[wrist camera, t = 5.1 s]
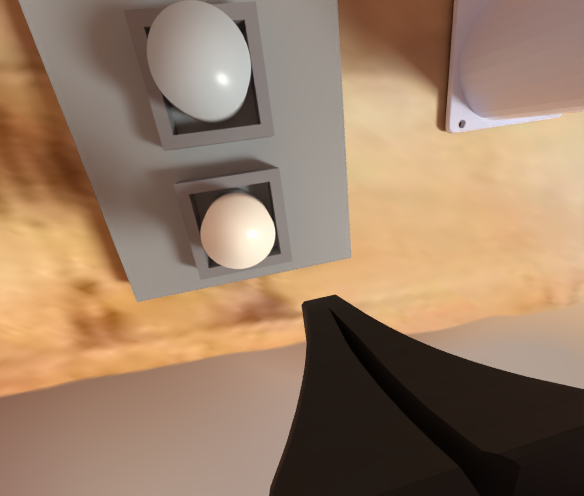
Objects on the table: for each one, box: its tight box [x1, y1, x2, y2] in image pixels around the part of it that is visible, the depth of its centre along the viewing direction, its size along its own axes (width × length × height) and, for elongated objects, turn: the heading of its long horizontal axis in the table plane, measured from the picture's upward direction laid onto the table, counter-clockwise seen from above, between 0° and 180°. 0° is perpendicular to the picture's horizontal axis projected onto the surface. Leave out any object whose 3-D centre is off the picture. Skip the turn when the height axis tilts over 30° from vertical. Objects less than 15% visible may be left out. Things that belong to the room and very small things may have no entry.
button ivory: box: [200, 190, 275, 269], centre depth 15 cm, size 4×4×3 cm
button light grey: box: [147, 0, 251, 124], centre depth 11 cm, size 4×4×3 cm
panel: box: [18, 0, 351, 302], centre depth 14 cm, size 14×22×4 cm, turn 8°
